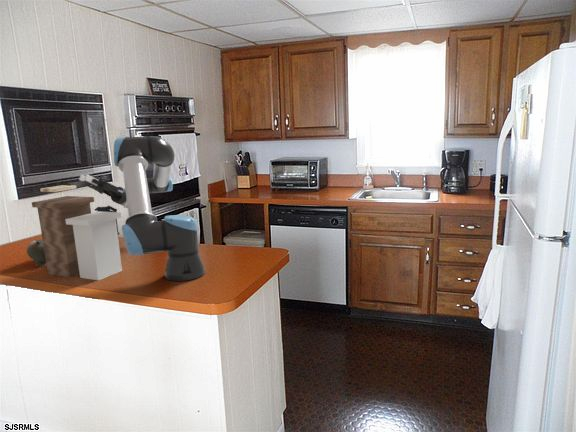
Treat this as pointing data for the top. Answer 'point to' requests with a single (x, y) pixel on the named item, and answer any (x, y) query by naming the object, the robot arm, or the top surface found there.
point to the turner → (66, 186)
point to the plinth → (61, 232)
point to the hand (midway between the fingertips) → (83, 177)
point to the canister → (107, 209)
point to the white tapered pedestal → (97, 244)
